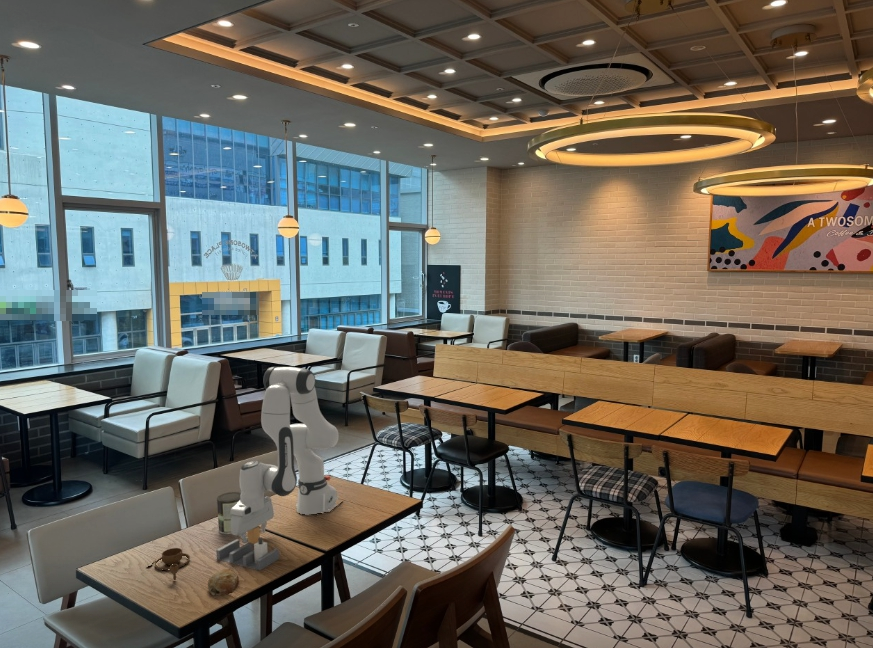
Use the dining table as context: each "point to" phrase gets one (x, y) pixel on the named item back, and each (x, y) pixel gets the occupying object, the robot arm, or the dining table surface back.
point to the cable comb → (245, 555)
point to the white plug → (260, 549)
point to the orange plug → (253, 535)
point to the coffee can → (226, 510)
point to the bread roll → (223, 582)
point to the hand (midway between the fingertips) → (253, 537)
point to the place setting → (172, 560)
